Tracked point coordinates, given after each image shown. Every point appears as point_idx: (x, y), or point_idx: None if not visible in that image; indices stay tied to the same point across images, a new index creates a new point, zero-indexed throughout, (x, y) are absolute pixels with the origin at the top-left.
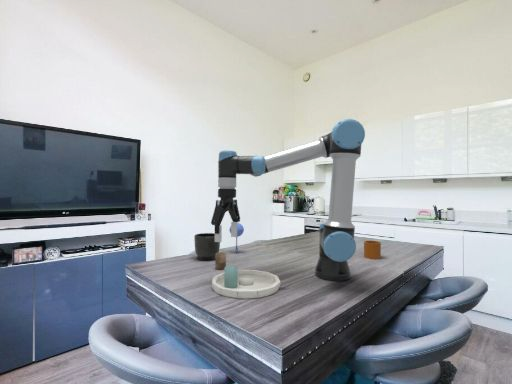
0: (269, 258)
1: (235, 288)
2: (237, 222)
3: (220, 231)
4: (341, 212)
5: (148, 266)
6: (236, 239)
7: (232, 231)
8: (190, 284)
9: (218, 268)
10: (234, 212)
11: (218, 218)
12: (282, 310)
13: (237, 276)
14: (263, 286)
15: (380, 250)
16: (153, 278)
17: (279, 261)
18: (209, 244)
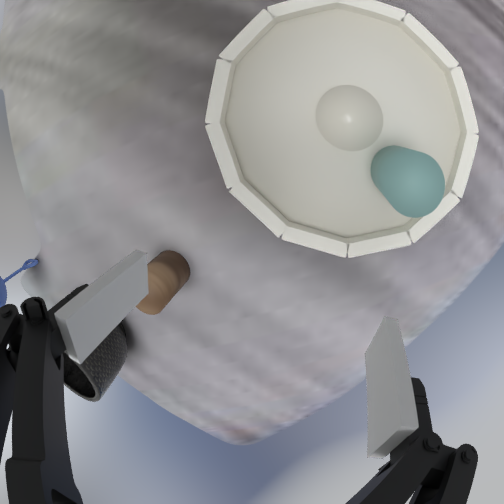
0: (36, 146)
1: (414, 149)
2: (57, 311)
3: (410, 381)
4: None
5: (233, 424)
6: (9, 278)
7: (125, 305)
8: (364, 312)
9: (187, 273)
10: (28, 423)
11: (456, 494)
12: (491, 16)
13: (406, 148)
14: (366, 48)
15: None
16: (321, 400)
17: (50, 103)
18: (96, 349)
